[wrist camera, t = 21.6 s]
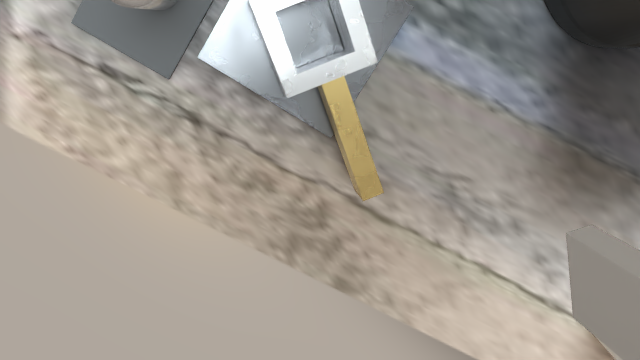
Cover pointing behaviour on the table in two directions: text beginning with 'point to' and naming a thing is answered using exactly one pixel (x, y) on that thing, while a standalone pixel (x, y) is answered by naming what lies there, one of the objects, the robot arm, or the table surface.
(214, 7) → the table surface
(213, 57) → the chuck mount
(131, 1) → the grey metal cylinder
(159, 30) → the pad
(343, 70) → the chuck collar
